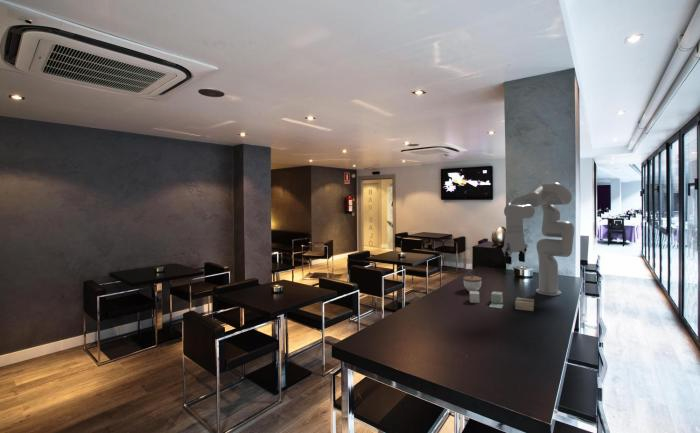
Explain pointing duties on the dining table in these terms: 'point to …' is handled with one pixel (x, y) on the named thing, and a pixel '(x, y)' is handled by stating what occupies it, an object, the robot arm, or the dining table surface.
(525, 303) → the tan square block
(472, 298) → the offwhite cube
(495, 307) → the sage swatch
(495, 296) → the sage cube
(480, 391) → the dining table surface
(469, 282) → the lidded jar
